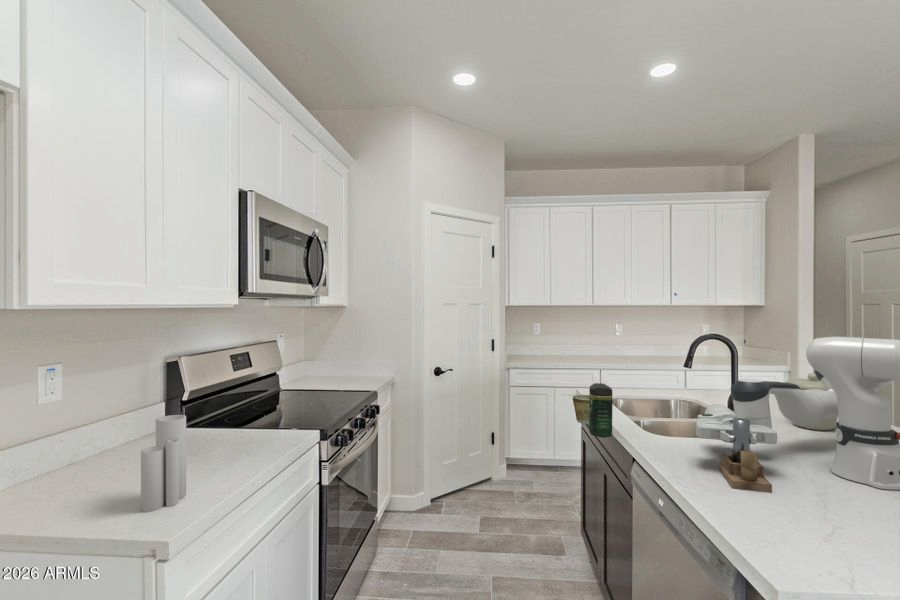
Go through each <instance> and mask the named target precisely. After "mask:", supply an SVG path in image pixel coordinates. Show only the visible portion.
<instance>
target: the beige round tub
mask: <svg viewBox="0 0 900 600" xmlns="http://www.w3.org/2000/svg"><path fill="white" fill-rule="evenodd" d="M784 383H792V384H796V385H798V386H799V387H800V388H801V390H808V389H819V390H825V391H827V389H826V388H825V386H824V385H823V383H822V382H821V381H819V380H818V378H817V377H816V375H815V372H810V373H808V374H807V378H791V379H788V380H787V381H785V382H784ZM837 422H838V413H837V414H835V415H833V416H832V417H830V418H828V419H826V420H824V421H821V422H818V423H815V424H810V425H799V424H795V423H793V424H794V425H795V426H797V427H798V428H799V427H800V428H804V429H807V430H812V431H831V430H833V429H835V428H836V423H837Z"/></svg>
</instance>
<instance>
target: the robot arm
mask: <svg viewBox="0 0 900 600" xmlns="http://www.w3.org/2000/svg"><path fill="white" fill-rule="evenodd" d="M805 352H806V353H805V355H806V356H805V357H806V360H807V362H808V363H809V365H810V366H811V368H813V369H814V373H815V375H816V377H817V378H818V380H819V381H821V382H822V383H823V385H824V386H825V388H826V389H827V391H825V390H819V389H808V390H801V388H800V387H799V386H798V385H796V384H792V383H785V382H781V381H773V380H772V381H771V380H770V381H769V380H759V379H754V378H741V379H737V380H736V381H734V383H732V385H731V387H730V388H729V389H730V392H731V399H732V402H733V403H732V404H733V410H732V409H730V408H729V407H727V406H725V405H723V404H719V403H716V404H715V403H714V404H711V405H709V406H708V407H706V408H705V411H704V414H697V417H696V424H695V425H696V426H695V427H696V428H695V429H696V431H695V432H696V433H695V434H696V437H697V438H699V439H705V440H716V441H717V440H718V441H722V442H724V443H729V444H733V442H734V436H733V419H734V418H742V419H747V420H749V421H750V445H757V444H764V445H776V444H777V443H778V433H777V431H776V430H774V429H773V424H772V423H773V422H772V415H771V407H770V395H774V397H775V399H776V403H777V407H778V409H779V412H780V413H781V415H783V417H784V418H785V419H786V420H788V421H790V423H793V424H794V423H795V424H799V425H810V424H815V423H818V422H821V421H824V420H826V419H828V418H830V417H832V416H833V415H835V414H837V413H838V417H837V423H836V426H835V439H836V440H835V441H836V449H835V450H836V451H835V455H834V459H833V463H832V466H831V467H830V471H831V472H832V473H833V474H834V475H836V476H839V477H841V478H843V479H846V480H850V481H853V482H855V483H861V484H864V485H868V486H871V487H874V488H877V489H881V490H891V491H893V490H894V491H900V432H898V431H896V430H894V429H892V405H891V401H890V400H889V399H888V398H887V397H886V396H885V395H883V394H881V393H880V391H879V390H878V388H885V387H888V386H890V385H891V384H892V383H894V381H900V339H892V338H876V337H874V338H872V337H871V338H870V337H851V336H825V337H816V338H814V339H812V340H811V341H810V343H809V344H808V346H807V347H806V351H805ZM795 424H794V425H795Z"/></svg>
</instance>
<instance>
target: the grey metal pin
mask: <svg viewBox="0 0 900 600" xmlns="http://www.w3.org/2000/svg"><path fill="white" fill-rule="evenodd" d="M733 436H734V442H733V443H732V455H733V463H741V451H751V444H750V421H749V420H747V419H742V418H734V419H733Z"/></svg>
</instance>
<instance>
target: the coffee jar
mask: <svg viewBox="0 0 900 600" xmlns="http://www.w3.org/2000/svg"><path fill="white" fill-rule="evenodd" d="M588 395H589V397H590V406H589V424H588V426H589V427H588V429H589V433H590V435H591V436H593V437H598V438H603V439H604V438H611V437H612V436H613V389H612V387H610V386H608V384H607V385H606V384H605V383H602V382H601V383H599V382H597V383H596V382H594V383H593V384H591V385H590V386H589V393H588Z"/></svg>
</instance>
